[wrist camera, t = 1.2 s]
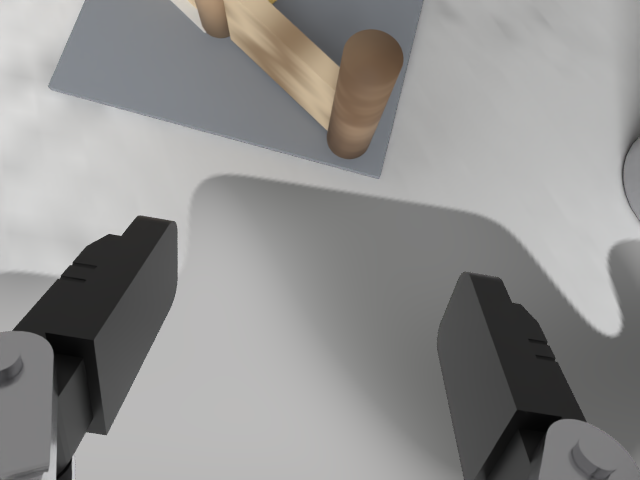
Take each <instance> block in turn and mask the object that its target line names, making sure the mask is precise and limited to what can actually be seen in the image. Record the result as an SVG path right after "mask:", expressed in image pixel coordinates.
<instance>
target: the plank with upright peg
mask: <svg viewBox="0 0 640 480" xmlns="http://www.w3.org/2000/svg"><path fill="white" fill-rule="evenodd" d="M223 1H224V6H225V12H226V17H227V22H228V27H229V32H230V38H231V40H232V41H233V42H234V43H235V44H236V45H237V46H238V47H240V48H241V49H242V50H243V51H244V52H245V53H246V54H247V55H248V56H249V57H250V58H251V59H252V60H253V61H254V62H255V63H256V64H257V65H259V66H260V67H261V68H262V69H263V70H264V71H265V72H266V73H267V74H268V75H269V76H270V77H271V78H272V79H273V80H274V81H275V82H276V83H277V84H279V85H280V86H281V87H282V88H283V89H284V90H285V91H286V92H287V93H288V94H289V95H290V96H291V97H292V98H293V99H294V100H295V101H296V102H297V103H299V104H300V105H301V106H302V107H303V108H304V109H305V110H306V111H307V112H308V113H309V114H310V115H311V116H312V117H313V118H314V119H315V120H316V121H318V122H319V123H320V124H321V125H322V126H323V127H324V128H325V129H326V130H327V131H328V132H327V143H328V146H329V148H330V150H331V151H332V152H333V153H334V154H335V155H337V156H338V157H341V158H344V159H355V158H358V157H360V156H361V155H363V154H364V153H365V152H366V150H367V149H368V147H369V145H370V142H371V140H372V137H373V135H374V133H375V130H376V128H377V126H378V123H379V121H380V118H381V116H382V114H383V111H384V109H385V107H386V104H387V102H388V99H389V97H390V95H391V92H392V90H393V88H394V85H395V83H396V80H397V78H398V76H399V73H400V71H401V69H402V66H403V59H404V57H403V52H402V49H401V47H400V45H399V43H398V42H397V41H396V40H395V39H394V38H393V37H392V36H391V35H389V34H388V33H385V32H383V31H380V30H375V29H367V30H362V31H359V32H357V33H355V34H354V35H352V36H351V37H350V38H349V39H348V41H347V42H346V44H345V46H344V49H343V54H342V59H341V64H340V67H339V66H338V65H337V64H336V63H335V62H334V61H332V60H331V59H330V58H329V57H328V56H327V55H326V54H325V53H324V52H323V51H322V50H321V49H320V48H318V47H317V46H316V45H315V44H314V43H313V42H312V41H311V40H310V39H309V38H308V37H307V36H305V35H304V34H303V33H302V32H301V31H300V30H299V29H298V28H297V27H296V26H295V25H294V24H293V23H291V22H290V21H289V20H288V19H287V18H286V17H285V16H284V15H283V14H282V13H281V12H280V11H279V10H277V9H276V8H275V7H274V6H273V5H272V4H271V3H270V2H269V1H268V0H223Z"/></svg>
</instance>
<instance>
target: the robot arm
mask: <svg viewBox="0 0 640 480" xmlns="http://www.w3.org/2000/svg"><path fill="white" fill-rule="evenodd" d="M624 186H625V191H626V196H627V198H628V201H629V203H630V205H631V208H632V210H633V211H634V213H635V214H636V216H637V217H638V219H639V220H640V137H639V138H638V139H637V140H636V141H635V142H634V143H633V144H632V146H631V148H630V150H629V152H628V154H627V156H626V160H625V164H624ZM176 287H177V225H176V222H175V221H170V220H164V219H158V218H152V217H146V216H137V217H136V218H135V219H134V221H133V222H132V223H131V224H130V226H129V227H128V228H127V229H126V231H125V232H124V233H123V234H122V236H117V235H112V234H108V235H106V236H104V237H103V238H101V239H99V240H97V241H95V242H93V243H92V244H90V245H88V246H86V248H85V249H84V250H83V251H82V252H81V253H80V254H79V256H78V257H77V258H76V259H75V260H74V261H73V264H72V266H71V265H70V266H69V267H68V268H67V269H66V270H65V271H64V273H63V274H62V275H61V278H60V279H57V281H56V282H55V283H54V284H53V285H52V286H51V287H50V288H49V290H48V291H47V292H46V293H45V294H44V295H43V296H42V298H41V299H40V300H39V301H38V302H37V303H36V304H35V305H34V307H33V308H32V309H31V310H30V311H29V312H28V313H27V315H26V316H25V317H24V318H23V319H22V320H21V321H20V322H19V324H18V325H17V326H16V327H15V328H14V329H13V330H12V331H8V332H1V333H0V480H76V478H75V476H76V474H75V456H74V453H75V451H76V449H77V447H78V445H79V444H80V442H81V440H82V438H83V436H84V434H85V433H86V432H89V433H96V434H102V435H107V433H108V431H109V429H110V427H111V425H112V423H113V421H114V419H115V417H116V415H117V413H118V411H119V409H120V407H121V405H122V403H123V402H124V399H125V397H126V396H127V393H128V392H129V390H130V387H131V386H132V384H133V381H134V380H135V378H136V376H137V374H138V372H139V370H140V368H141V366H142V364H143V362H144V359H145V358H146V356H147V353H148V352H149V350H150V348H151V346H152V344H153V342H154V340H155V338H156V336H157V334H158V332H159V330H160V328H161V326H162V324H163V321H164V320H165V318H166V316H167V314H168V312H169V310H170V308H171V306H172V303H173V300H174V297H175V293H176ZM437 350H438V355H439V360H440V365H441V369H442V375H443V380H444V384H445V389H446V394H447V399H448V404H449V408H450V413H451V418H452V423H453V427H454V433H455V438H456V442H457V447H458V452H459V457H460V462H461V467H462V471H463V476H464V480H640V471H639V468H638V467H637V465H636V463H635V461H634V460H633V458H632V457H631V455H630V454H629V453H628V452H627V451H626V449H625V448H624V447H623V446H622V445H621V444H620V443H619V442H617V441H616V440H615V439H614V438H613V437H611V436H610V435H608V434H607V433H606V432H604V431H603V430H601V429H599V428H597V427H596V426H593V425H591V424H589V423H587V422H586V420H585V418H584V416H583V413H582V411H581V409H580V407H579V405H578V403H577V401H576V399H575V397H574V395H573V393H572V391H571V389H570V387H569V385H568V383H567V381H566V379H565V377H564V375H563V373H562V370H561V368H560V366H559V364H558V363H557V362H555V356H554V354H553V352H552V350H551V348H550V346H548V345H547V340H546V338H545V336H544V334H543V332H542V329H541V328H540V325H539V323H538V322H537V321H536V320H535V319H534V318H533V317H532V316H531V315H530V314H529V313H528V311H527V310H525V308H524V307H523V306H522V305H521V304H515V303H512V302H511V299H510V297H509V295H508V293H507V290H506V288H505V286H504V284H503V281H502V280H501V279H500V278H499V277H494V276H488V275H482V274H476V273H470V272H463V273H462V274H461V276H460V277H459V279H458V281H457V284H456V286H455V289H454V292H453V294H452V297H451V298H450V301H449V304H448V306H447V308H446V311H445V313H444V316H443V318H442V320H441V323H440V326H439V330H438V337H437Z"/></svg>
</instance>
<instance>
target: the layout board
mask: <svg viewBox="0 0 640 480" xmlns="http://www.w3.org/2000/svg"><path fill="white" fill-rule="evenodd" d="M268 1H269V2H270V3H271V4H272V5H273V6H274V7H275V8H276V9H277V10H279V11H280V12H281V13H282V14H283V15H284V16H285V17H286V18H287V19H288V20H289V21H290V22H291V23H293V24H294V25H295V26H296V27H297V28H298V29H299V30H300V31H301V32H302V33H303V34H304V35H305V36H307V37H308V38H309V39H310V40H311V41H312V42H313V43H314V44H315V45H316V46H317V47H318V48H320V49H321V50H322V51H323V52H324V53H325V54H326V55H327V56H328V57H329V58H330V59H331V60H332V61H334V62H335V63H336V64H337V65H338V66H339V67H340V64H341V59H342V54H343V49H344V46H345V44H346V42H347V41H348V39H349V38H350V37H351V36H352V35H354V34H355V33H357V32H359V31H362V30H367V29H375V30H380V31H383V32H385V33H388V34H389V35H391V36H392V37H393V38H394V39H395V40H396V41H397V42H398V43H399V45H400V47H401V49H402V52H403V57H404V59H403V66H402V69H401V71H400V73H399V76H398V78H397V80H396V83H395V85H394V88H393V90H392V92H391V95H390V97H389V99H388V102H387V104H386V107H385V109H384V111H383V114H382V116H381V118H380V121H379V123H378V126H377V128H376V130H375V133H374V135H373V137H372V140H371V142H370V145H369V147H368V149H367V150H366V152H365V153H364V154H363V155H361V156H360V157H358V158H355V159H344V158H341V157H338V156H337V155H335V154H334V153H333V152H332V151H331V150H330V148H329V146H328V143H327V132H328V131H327V130H326V129H325V128H324V127H323V126H322V125H321V124H320V123H319V122H318V121H316V120H315V119H314V118H313V117H312V116H311V115H310V114H309V113H308V112H307V111H306V110H305V109H304V108H303V107H302V106H301V105H300V104H299V103H297V102H296V101H295V100H294V99H293V98H292V97H291V96H290V95H289V94H288V93H287V92H286V91H285V90H284V89H283V88H282V87H281V86H280V85H279V84H277V83H276V82H275V81H274V80H273V79H272V78H271V77H270V76H269V75H268V74H267V73H266V72H265V71H264V70H263V69H262V68H261V67H260V66H259V65H257V64H256V63H255V62H254V61H253V60H252V59H251V58H250V57H249V56H248V55H247V54H246V53H245V52H244V51H243V50H242V49H241V48H240V47H238V46H237V45H236V44H235V43H234V42H233V41H232V40H231V38H230V32H229V27H228V22H227V17H226V12H225V6H224V1H223V0H85V2H84V4H83V7H82V9H81V11H80V14H79V16H78V18H77V20H76V23H75V25H74V27H73V30H72V32H71V34H70V37H69V39H68V41H67V44H66V46H65V48H64V51H63V53H62V55H61V58H60V60H59V62H58V64H57V67H56V69H55V71H54V74H53V76H52V78H51V81H50V83H49V85H48V87H49V88H50V89H51V90H54V91H57V92H61V93H65V94H68V95H72V96H76V97H79V98H83V99H87V100H90V101H94V102H98V103H101V104H105V105H109V106H112V107H116V108H120V109H123V110H127V111H131V112H134V113H138V114H142V115H145V116H149V117H153V118H156V119H160V120H164V121H167V122H171V123H175V124H179V125H182V126H186V127H190V128H193V129H197V130H201V131H204V132H208V133H212V134H215V135H219V136H223V137H226V138H230V139H234V140H237V141H241V142H245V143H248V144H252V145H256V146H259V147H263V148H267V149H270V150H274V151H278V152H281V153H285V154H289V155H292V156H296V157H300V158H303V159H307V160H311V161H314V162H318V163H322V164H326V165H329V166H333V167H337V168H340V169H344V170H348V171H351V172H355V173H359V174H362V175H366V176H370V177H373V178H377V179H379V178H380V175H381V171H382V167H383V163H384V159H385V154H386V150H387V146H388V142H389V138H390V134H391V130H392V126H393V122H394V118H395V114H396V110H397V106H398V102H399V98H400V93H401V89H402V85H403V81H404V77H405V73H406V69H407V65H408V61H409V57H410V53H411V49H412V45H413V41H414V37H415V33H416V28H417V24H418V20H419V16H420V12H421V8H422V4H423V0H268Z"/></svg>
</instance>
